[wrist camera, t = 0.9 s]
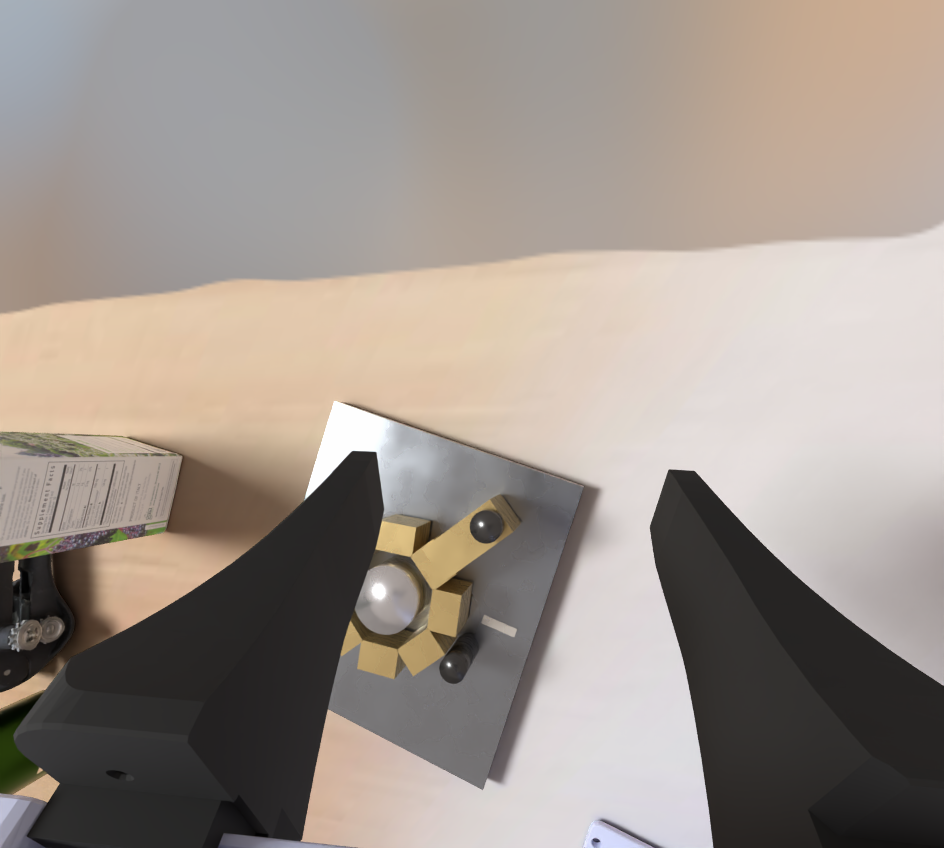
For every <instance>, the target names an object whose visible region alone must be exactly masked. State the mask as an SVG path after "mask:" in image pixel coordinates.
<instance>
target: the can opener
mask: <svg viewBox="0 0 944 848" xmlns="http://www.w3.org/2000/svg"><path fill="white" fill-rule="evenodd" d="M51 557H52V554H47V555H41V556H36V557H31V558H25V559H20V560H19V564H18V570H19V571H20V579H18V580H16V581H14V582H12V581H13V580H12V577H13V572H14V563H15V562H14V561H9V562H3V563H0V692H4V691H6V690H9V689H12V688H14V687H16V686H18V685H20V684H22V683H23V682H25V681H27V680H28V679H30V678H31V677H33V676H34V675H35V674H36V673H38V672H39V671H40V670H41V669H42V668H43V667H45V666H46V664H47V663H48V662H49V661H50V660H51V659H52V658H53V657H54V656H55V655H56V654H57V653H58V652H59V651H60V650H61V649H62V648H63V647H64V646H65V645H66V643H67V642H68V641H69V639H70V638H71V636H72V634H73V631H74V627H75V620H74V616H73V614H72V612H71V610H70V608H69V607H68V605H67V604H66V603H65V601H64V600H63V598H62V597H61V596H60V594H59V592H58V590H57V587H56V585H55V582H54V579H53V576H52V570H51V562H52V560H51Z"/></svg>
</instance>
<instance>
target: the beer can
mask: <svg viewBox="0 0 944 848" xmlns="http://www.w3.org/2000/svg"><path fill="white" fill-rule="evenodd" d="M44 692H45V690H42V691H39V692H37V693H35V694H33V695H30V696H28V697H26V698H24V699H22V700H19V701H17V702H15V703H13V704H10V705H8V706H6V707H4V708H1V709H0V793H1V794H10V795H12V794H14V793H16V792H17V791H19V790H21V789H22V788H24V787H26V786H27V785H29V784H31V783H32V782H34V781H36V780H37V779H39V778H41V777H42V776H44V775H46V774H47V773H46V772H45V771H44V770H42V769H41V768H40V767H38V766H37V765H36V764H34V763H33V762H32V761H31V760H29V759H28V758H27V757H25V756H24V755H23V754H22V753H21V752H20V751H19V750H18V749H17V747H16V744H15V741H14V736H13V735H14V733H15V731H16V729H17V728H18V726H19V725H20V724H21V722H22V721H23V720H24V718H25V717H26V716H27V714H28V713H29V712H30V710H31V709H32V708H33V706H34V705H35V704H36V702H37V701H38V700H39V698H40V697H41V696H42V694H43V693H44Z"/></svg>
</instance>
